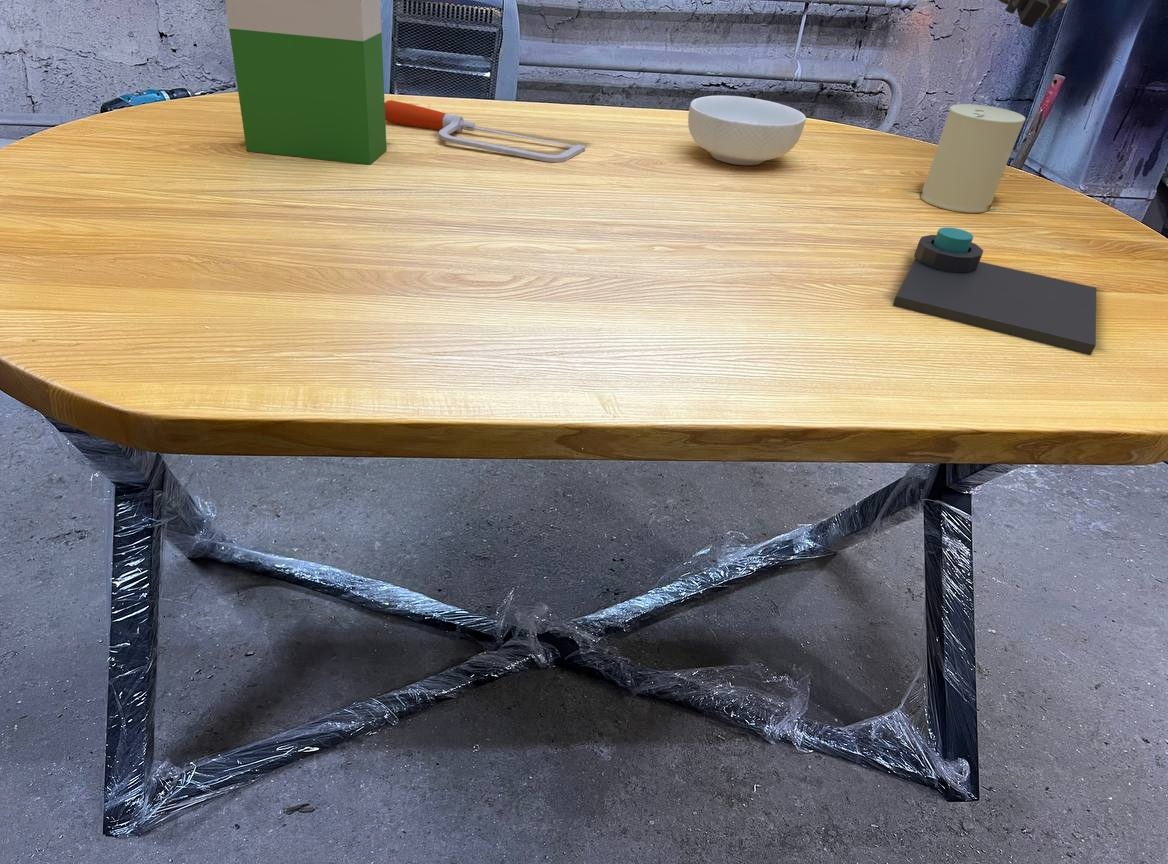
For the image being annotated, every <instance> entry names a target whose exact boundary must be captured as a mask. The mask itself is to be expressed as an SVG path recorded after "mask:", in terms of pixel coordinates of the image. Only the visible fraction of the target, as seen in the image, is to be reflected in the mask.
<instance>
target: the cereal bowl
mask: <svg viewBox="0 0 1168 864" xmlns="http://www.w3.org/2000/svg"><path fill="white" fill-rule="evenodd" d="M687 116H688V117H687V120H688V121H687V127H688V131H689V134H690V136H691V137H692V138H693V141H694V142H695V143H696V144H697V145H698V146H700V147H701V149H703V150H705V151H707V152H709V154H710V156H711V157H712V158H714V159H715V160H716V161H719V162H722V163H726V164H731V165H737V166H756V165H757V166H758V165H761V164H763V163H764V162H765V161H768V160H769V161H770V160H774V159H777V158H780V157H783V156H784V155H786V154H787V153H789V152H790V151H792V149H794V148H795V146H796V145H797V144H798V142H799V141H800V138H801V136H802V135H803V134H802V133H803V131H804V127H805V124H806V121H807V117H806V115H805V113H803V112H801V111H800V110H798V109H795V108H794V107H790V106H788V105H785V104H781V103H778V102H774V101H770V100H765V99H760V98H756V97H755V98H754V97H748V96H741V95H738V96H737V95H708V96H702V97H700V96H699V97H697V98H695V99H693V100H692V101H690V104H689V107H688V115H687Z"/></svg>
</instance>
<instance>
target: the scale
mask: <svg viewBox="0 0 1168 864" xmlns="http://www.w3.org/2000/svg"><path fill="white" fill-rule="evenodd" d="M936 235H937V234H929V235H924V236H921V237H920V239H919V241H918V243H917V246H916V249H915V252H914V255H913V257H914V261H913V262H912V264H911V266H910V268H909V270H908V272H907V273H906V275H905V278H904V279H903V281H902V284H901V286H900V287H899V289H898V291H897V293H896V295H895V298H894V301H893V303H892V306H893V307H896V308H899V309H904V310H908V311H911V312H915V313H919V314H924V315H928V316H931V317H934V318H935V317H936V318H940V319H942V320H943V319H944V320H946V321H947V320H948V321H952V322H956V323H960V324H963V325H968V326H972V327H976V328H979V329H983V330H988V331H992V332H995V333H999V334H1003V335H1007V336H1011V337H1015V338H1019V339H1023V340H1027V341H1031V342H1036V343H1039V344H1043V345H1046V346H1050V347H1055V348H1058V349H1064V350H1066V351H1071V352H1074V353H1077V354H1078V353H1079V354H1083V355H1086V356H1091V355H1092V353H1093V351H1095V348H1096V345H1097V287H1094V286H1090V285H1085V284H1082V283H1081V284H1080V283H1077V282H1072V281H1067V280H1064V279H1059V278H1055V277H1050V276H1045V275H1041V274H1036V273H1033V272H1032V273H1031V272H1028V271H1023V270H1019V269H1014V268H1010V267H1007V266H1006V267H1005V266H1001V265H996V264H993V263H989V262H988V263H987V262H982V261H981V259H982V256H983V253H984V249H983V248H981V247H980V246H979V245H978V244H976V243H975V242H973V241H972V242H971V245H970V247H969V250H968V252H967V253H953V252H949V251H945V250H941V249H939V248H936V247H935V246H934V245H933V243H934V240H935V238H936Z"/></svg>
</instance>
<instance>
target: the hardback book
mask: <svg viewBox="0 0 1168 864" xmlns="http://www.w3.org/2000/svg"><path fill="white" fill-rule="evenodd" d="M224 3H225V9H226V16H227V23H228V31H229V37H230V44H231V52H232V58H233V59H232V60H233V67H234V73H235V79H236V87H237V94H238V100H239V107H240V114H241V121H242V128H243V136H244V142H245V149H246V152H252V153H260V154H261V153H262V154H267V155H268V154H269V155H278V156H288V157H297V158H304V159H315V160H322V161H333V162H341V163H349V164H350V163H351V164H359V165H369V166H371V165H372V164H373V163H374V162H375V161H376V160H378V159H379V158H380V157H381V156H383V154H384V153H385V152H387V151H388V149H387V125H386V120H385V102H386V100H385V81H384V80H385V79H384V78H385V77H384V59H383V57H384V56H383V36H382V35H383V34H382V13H381V12H382V11H381V0H224Z"/></svg>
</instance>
